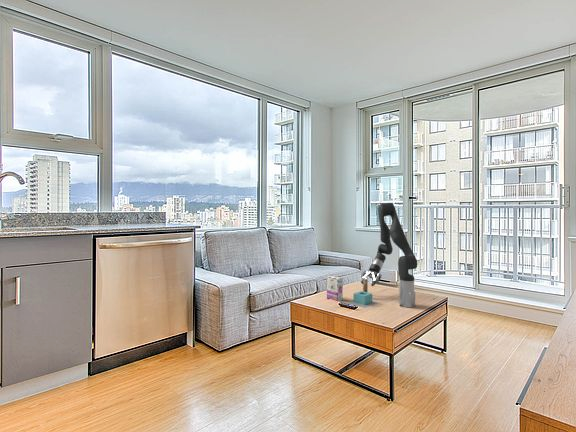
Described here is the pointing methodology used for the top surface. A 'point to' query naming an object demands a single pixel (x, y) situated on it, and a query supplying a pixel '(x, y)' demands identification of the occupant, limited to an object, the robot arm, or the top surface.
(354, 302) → the board
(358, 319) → the top surface
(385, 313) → the top surface
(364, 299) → the teal block with hole
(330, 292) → the candy bar box
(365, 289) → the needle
